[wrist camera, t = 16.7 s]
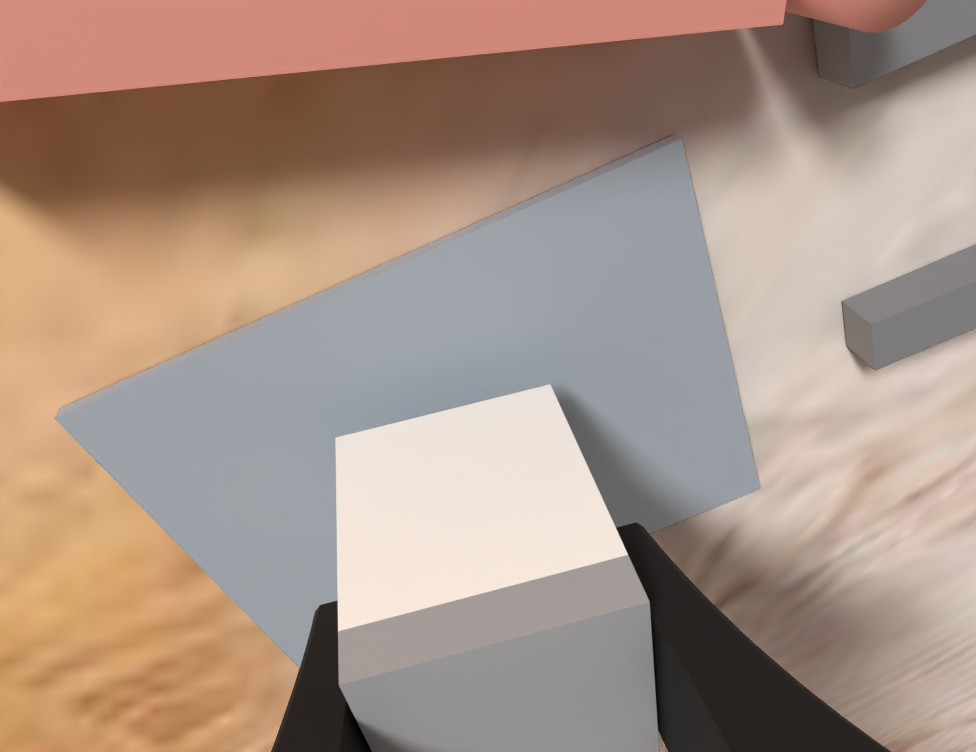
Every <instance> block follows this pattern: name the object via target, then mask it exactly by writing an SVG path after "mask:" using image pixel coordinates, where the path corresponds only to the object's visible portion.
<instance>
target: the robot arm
mask: <svg viewBox="0 0 976 752" xmlns="http://www.w3.org/2000/svg"><path fill="white" fill-rule="evenodd" d="M616 529H617V532H618V534H619V536H620V538H621V540H622V542H623V545H624V547H625V549H626V551H627V553H628V556H629V558H630V560H631V562H632V564H633V567H634V569H635V571H636V573H637V575H638V578H639V580H640V582H641V584H642V586H643V588H644V591H645V593H646V595H647V597H648V599H649V602H650V615H651V631H652V646H653V662H654V677H655V692H656V708H657V723H658V731H659V733H660V735H661V737H662V739H663V741H664V743H665V746H666V748H667V750H668V752H891V751H889V750H888V749H886V748H885V747H883V746H882V745H881V744H879V743H878V742H876V741H875V740H874V739H872V738H871V737H869V736H868V735H867V734H865V733H864V732H863V731H861V730H860V729H859V728H857V727H856V726H855V725H853V724H852V723H851V722H849V721H848V720H846V719H845V718H844V717H842V716H841V715H840V714H838V713H837V712H836V711H835V710H833V709H832V708H831V707H829V706H828V705H827V704H826V703H824V702H823V701H822V700H821V699H819V698H818V697H817V696H815V695H814V694H813V693H812V692H810V691H809V690H808V689H807V688H805V687H804V686H803V685H802V684H801V683H799V682H798V681H797V680H796V679H795V678H793V677H792V676H791V675H790V674H789V673H787V672H786V671H785V670H784V669H783V668H782V667H780V666H779V665H778V664H777V663H776V662H775V661H774V660H772V659H771V658H770V657H769V656H768V655H767V654H766V653H764V652H763V651H762V650H761V649H760V648H759V647H758V646H757V645H755V644H754V643H753V642H752V641H751V640H750V639H749V638H748V637H747V636H746V635H745V634H743V633H742V632H741V631H740V630H739V629H738V628H737V627H736V626H735V625H734V624H733V623H732V622H731V621H730V620H729V619H728V618H727V617H726V616H725V615H724V614H723V613H722V612H721V611H720V610H719V609H718V608H717V607H716V606H715V605H713V604H712V603H711V602H710V601H709V600H708V599H707V598H706V597H705V596H704V595H703V594H702V592H701V591H700V590H699V589H698V588H697V587H696V586H695V585H694V584H693V583H692V582H691V581H690V580H689V579H688V578H687V577H686V576H685V575H684V573H683V572H682V571H681V570H680V569H679V568H678V567H677V566H676V565H675V564H674V563H673V561H672V560H671V559H670V558H669V557H668V556H667V555H666V553H665V552H664V551H663V550H662V549H661V548H660V546H659V545H658V544H657V543H656V542H655V540H654V539H653V538H652V537H651V536H650V534H649V533H648V532H647V531H646V529H645V528H644V527H643V526H642V525H640V524H638V523H632V524H628V525H624V526H620V527H617V528H616ZM271 752H372V751H371V749H370V747H369V745H368V743H367V741H366V739H365V737H364V735H363V733H362V731H361V729H360V727H359V725H358V723H357V721H356V719H355V717H354V715H353V713H352V711H351V709H350V707H349V705H348V703H347V701H346V699H345V697H344V695H343V693H342V691H341V689H340V687H339V665H338V600H337V601H333V602H330V603H326V604H322V605H320V606H319V607H318V608H317V609H316V611H315V614H314V618H313V622H312V626H311V630H310V634H309V638H308V641H307V645H306V649H305V652H304V656H303V659H302V662H301V666H300V669H299V672H298V675H297V678H296V682H295V685H294V688H293V691H292V694H291V697H290V700H289V703H288V706H287V709H286V711H285V714H284V717H283V720H282V723H281V726H280V729H279V732H278V734H277V737H276V740H275V743H274V745H273V748H272V751H271Z"/></svg>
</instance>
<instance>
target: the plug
mask: <svg viewBox="0 0 976 752" xmlns="http://www.w3.org/2000/svg"><path fill="white" fill-rule="evenodd" d="M335 446H336V519H337V592H338V665H339V687H340V689H341V691H342V693H343V695H344V697H345V699H346V701H347V703H348V705H349V707H350V709H351V711H352V713H353V715H354V717H355V719H356V721H357V723H358V725H359V727H360V729H361V731H362V733H363V735H364V737H365V739H366V741H367V743H368V745H369V747H370V749H371V751H372V752H659V738H658V723H657V708H656V692H655V677H654V662H653V646H652V631H651V615H650V602H649V599H648V597H647V595H646V593H645V591H644V588H643V586H642V584H641V582H640V580H639V578H638V575H637V573H636V571H635V569H634V567H633V564H632V562H631V560H630V558H629V556H628V553H627V551H626V549H625V547H624V545H623V542H622V540H621V538H620V536H619V534H618V532H617V529H616V527H615V525H614V523H613V521H612V518H611V516H610V514H609V512H608V510H607V507H606V505H605V503H604V501H603V499H602V496H601V494H600V492H599V490H598V488H597V485H596V483H595V481H594V479H593V477H592V475H591V472H590V470H589V468H588V466H587V464H586V461H585V459H584V457H583V455H582V453H581V450H580V448H579V446H578V444H577V442H576V439H575V437H574V435H573V433H572V431H571V429H570V426H569V424H568V422H567V420H566V418H565V415H564V413H563V411H562V409H561V407H560V404H559V402H558V400H557V398H556V396H555V393H554V391H553V389H552V387H551V385H550V384H549V385H545V386H541V387H537V388H533V389H529V390H525V391H521V392H517V393H513V394H509V395H505V396H501V397H497V398H493V399H489V400H485V401H481V402H477V403H473V404H469V405H465V406H461V407H457V408H453V409H449V410H445V411H441V412H437V413H433V414H429V415H425V416H421V417H417V418H413V419H409V420H405V421H401V422H397V423H393V424H388V425H384V426H380V427H376V428H372V429H368V430H364V431H360V432H356V433H352V434H348V435H344V436H340V437H336V438H335Z"/></svg>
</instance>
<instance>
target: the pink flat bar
mask: <svg viewBox="0 0 976 752" xmlns="http://www.w3.org/2000/svg"><path fill="white" fill-rule="evenodd" d="M926 1H927V0H0V102H5V101H15V100H25V99H35V98H45V97H55V96H65V95H75V94H86V93H96V92H106V91H116V90H126V89H136V88H146V87H156V86H167V85H177V84H187V83H197V82H207V81H217V80H227V79H237V78H247V77H258V76H268V75H278V74H288V73H298V72H308V71H318V70H328V69H338V68H349V67H359V66H369V65H379V64H389V63H399V62H409V61H419V60H430V59H440V58H450V57H460V56H470V55H480V54H490V53H500V52H510V51H521V50H531V49H541V48H551V47H561V46H571V45H581V44H591V43H601V42H612V41H622V40H632V39H642V38H652V37H662V36H672V35H682V34H693V33H703V32H713V31H723V30H733V29H743V28H753V27H763V26H773V25H783V21H784V15H785V12H788V13H792V14H796V15H800V16H804V17H808V18H812V19H816V20H820V21H824V22H828V23H832V24H836V25H840V26H844V27H848V28H852V29H856V30H860V31H863V32H870V33H876V32H883V31H887V30H890V29H892V28H894V27H897V26H899V25H900V24H902V23H904V22H905V21H906V20H908V19H909V18H910V17H912V16H913V15H914V14H915V13H916V12H917V11H918V10H919V9H920V8H921V7H922V6H923V5H924V3H925V2H926Z"/></svg>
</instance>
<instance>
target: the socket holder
mask: <svg viewBox="0 0 976 752" xmlns="http://www.w3.org/2000/svg"><path fill="white" fill-rule="evenodd" d="M813 25H814V35H815V44H816V54H817V64H818V73H819V76H820V77H823V78H826V79H828V80H831V81H834V82H836V83H839V84H842V85H845V86H847V87H850V88H853V89H854V88H856V87H859V86H861V85H863V84H865V83H868V82H870V81H872V80H874V79H877V78H879V77H881V76H883V75H886V74H888V73H890V72H892V71H895V70H897V69H899V68H902V67H904V66H906V65H908V64H911V63H913V62H915V61H917V60H920V59H922V58H924V57H926V56H929V55H931V54H933V53H935V52H938V51H940V50H942V49H944V48H947V47H949V46H951V45H953V44H956V43H958V42H960V41H962V40H965V39H967V38H969V37H972V36H974V35H976V0H927V1H926V2H925V3H924V5H923V6H922V7H921V8H920V9H919V10H918V11H917V12H916V13H915V14H914V15H913V16H912V17H910V18H909V19H908V20H906V21H905V22H904V23H902V24H900V25H899V26H897V27H894V28H892V29H890V30H887V31H883V32H876V33H870V32H863V31H860V30H856V29H852V28H848V27H844V26H840V25H836V24H832V23H828V22H824V21H820V20H816V19H813ZM842 307H843V316H844V326H845V336H846V345H847V347H849V348H850V349H851V350H852V351H853V352H854V353H855V354H857V355H858V356H859V357H860V358H861V359H862V360H864V361H865V362H866V363H867V364H868V365H869V366H870V367H872V368H873V369H874V370H877V369H879V368H882V367H884V366H887V365H889V364H891V363H894V362H896V361H899V360H901V359H903V358H906V357H908V356H911V355H913V354H915V353H918V352H920V351H923V350H925V349H927V348H930V347H932V346H935V345H937V344H939V343H942V342H944V341H947V340H949V339H951V338H954V337H956V336H958V335H961V334H963V333H966V332H968V331H970V330H973V329H975V328H976V245H974V246H972V247H969V248H967V249H964V250H962V251H960V252H957V253H955V254H953V255H950V256H948V257H946V258H943V259H941V260H939V261H936V262H934V263H931V264H929V265H927V266H924V267H922V268H920V269H917V270H915V271H913V272H910V273H908V274H906V275H903V276H901V277H899V278H896V279H894V280H891V281H889V282H887V283H884V284H882V285H880V286H877V287H875V288H873V289H870V290H868V291H866V292H863V293H861V294H858V295H856V296H854V297H851V298H849V299H847V300H844V301H842Z"/></svg>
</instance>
